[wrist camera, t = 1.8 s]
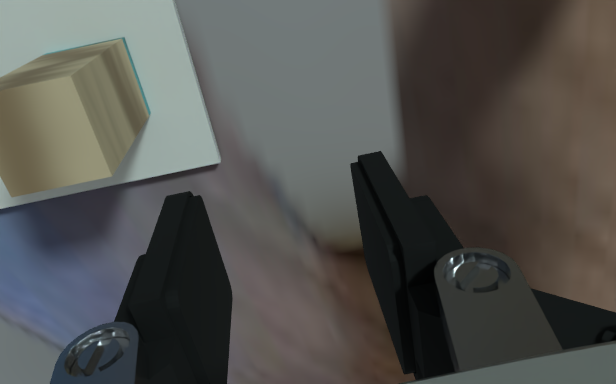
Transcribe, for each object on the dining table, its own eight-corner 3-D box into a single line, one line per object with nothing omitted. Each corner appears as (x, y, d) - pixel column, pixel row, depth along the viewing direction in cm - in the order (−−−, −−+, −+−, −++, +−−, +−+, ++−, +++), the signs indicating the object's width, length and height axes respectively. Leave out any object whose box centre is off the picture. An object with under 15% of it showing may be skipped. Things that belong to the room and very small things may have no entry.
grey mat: (158, -55, 29) (156, -55, 28) (220, 158, 36) (220, 162, 35) (-206, 21, 29) (-217, 23, 28) (-77, 220, 36) (-84, 226, 35)
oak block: (124, 37, 30) (70, 75, 22) (151, 112, 33) (112, 176, 24) (45, 53, 30) (-41, 99, 22) (77, 128, 33) (11, 197, 24)
